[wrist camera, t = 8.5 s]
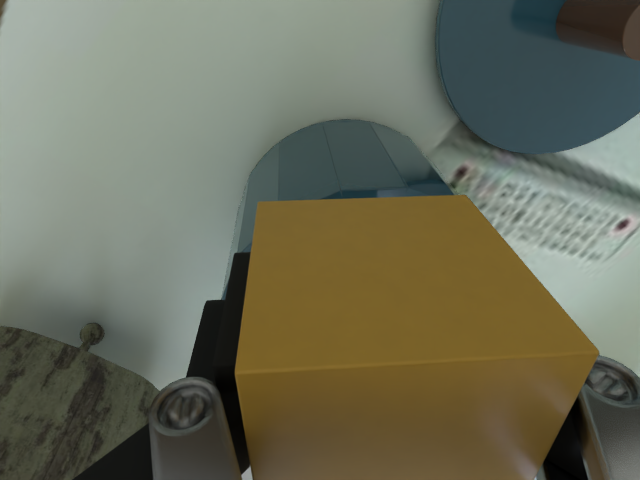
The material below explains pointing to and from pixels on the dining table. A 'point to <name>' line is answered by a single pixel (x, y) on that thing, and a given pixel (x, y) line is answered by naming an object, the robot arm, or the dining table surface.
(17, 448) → the tabletop clock
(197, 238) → the dining table surface
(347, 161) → the crock
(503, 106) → the lid
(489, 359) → the block
